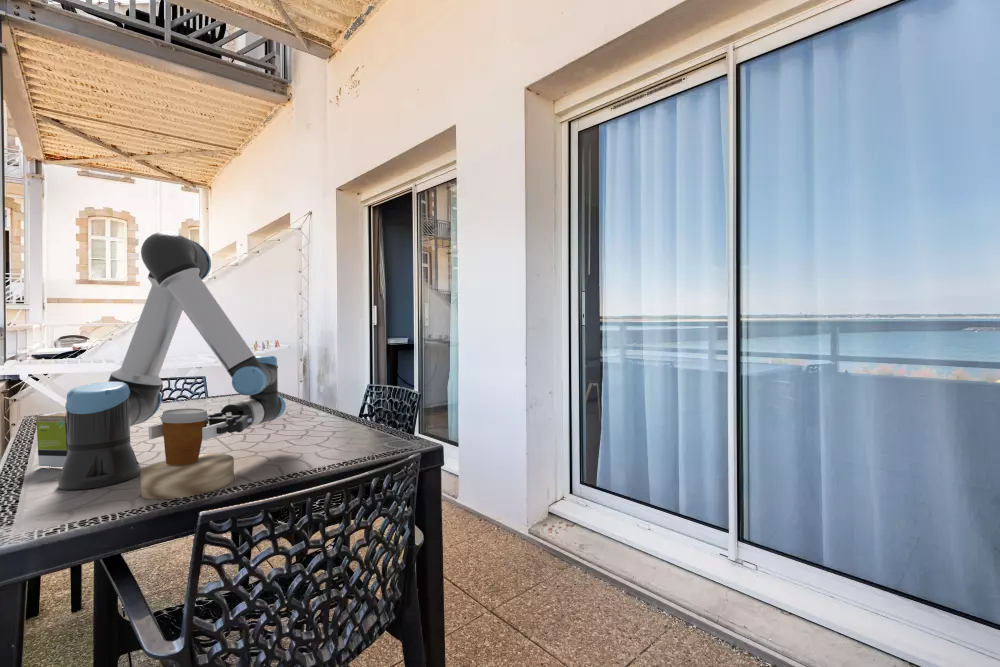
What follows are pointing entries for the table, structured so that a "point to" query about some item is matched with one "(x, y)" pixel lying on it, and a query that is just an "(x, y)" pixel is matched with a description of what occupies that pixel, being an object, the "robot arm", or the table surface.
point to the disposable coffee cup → (183, 434)
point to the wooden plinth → (187, 477)
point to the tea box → (52, 439)
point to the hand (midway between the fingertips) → (176, 433)
